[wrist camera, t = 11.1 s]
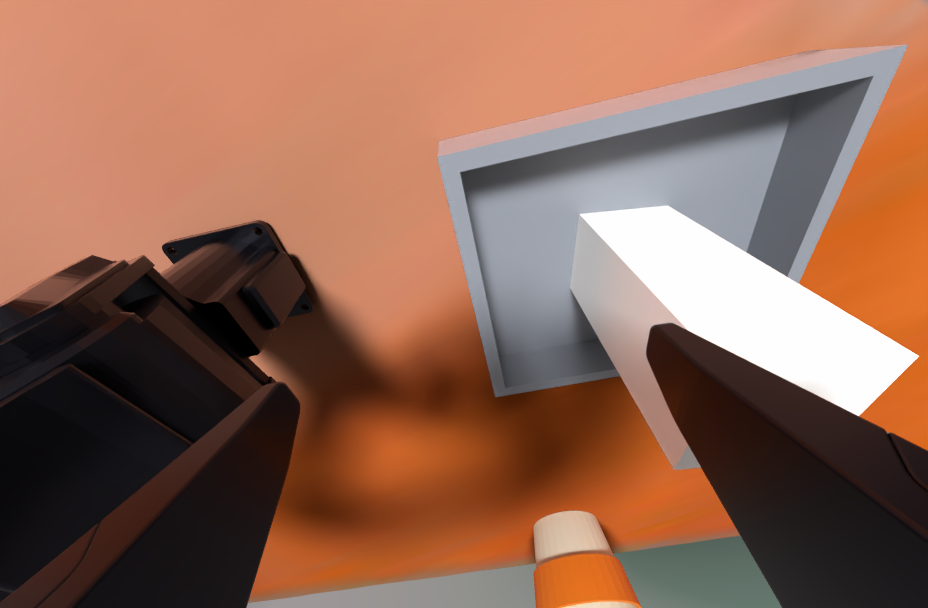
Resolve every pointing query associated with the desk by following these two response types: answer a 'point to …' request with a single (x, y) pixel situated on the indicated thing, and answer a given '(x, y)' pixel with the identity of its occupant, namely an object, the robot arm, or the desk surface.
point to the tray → (650, 190)
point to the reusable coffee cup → (577, 565)
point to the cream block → (716, 314)
